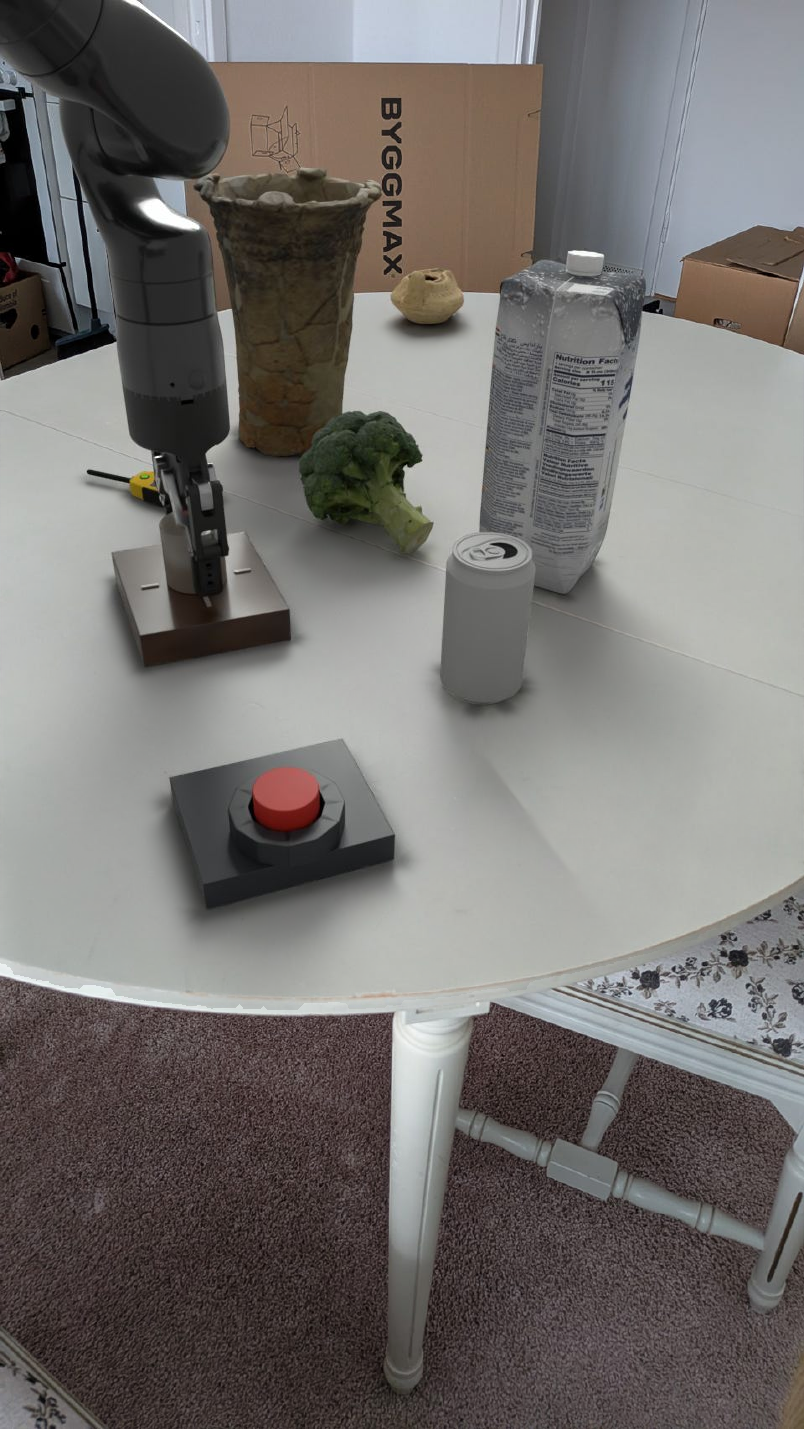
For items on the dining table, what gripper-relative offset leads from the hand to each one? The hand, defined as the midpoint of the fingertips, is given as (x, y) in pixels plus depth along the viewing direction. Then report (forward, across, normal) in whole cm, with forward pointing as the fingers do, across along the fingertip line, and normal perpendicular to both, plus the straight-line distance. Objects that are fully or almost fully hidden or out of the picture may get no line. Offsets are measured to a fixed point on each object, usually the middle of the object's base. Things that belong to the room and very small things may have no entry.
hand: (195, 568), depth 83 cm
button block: (+4, +28, -2) cm, 28 cm away
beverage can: (+4, +19, +17) cm, 26 cm away
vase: (+4, -33, +20) cm, 39 cm away
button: (0, +30, -2) cm, 30 cm away
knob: (+1, 0, 0) cm, 1 cm away
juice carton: (+4, +4, +31) cm, 31 cm away
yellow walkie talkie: (+4, -24, +1) cm, 24 cm away
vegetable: (+4, -8, +19) cm, 21 cm away
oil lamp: (+4, -69, +54) cm, 88 cm away
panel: (+4, 0, 0) cm, 4 cm away
